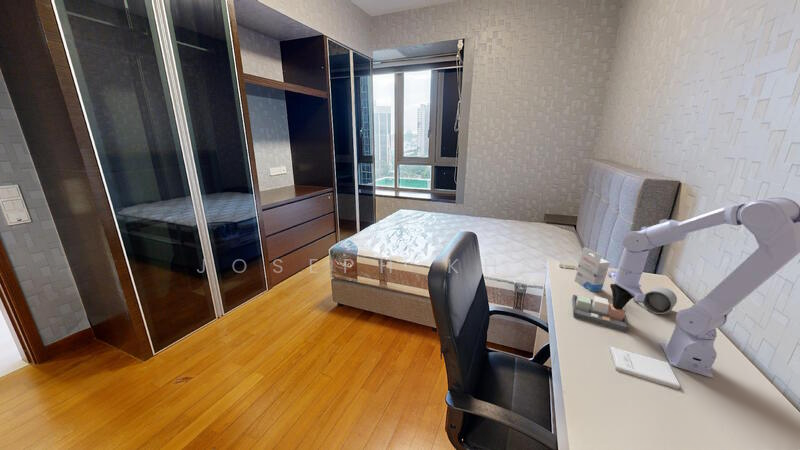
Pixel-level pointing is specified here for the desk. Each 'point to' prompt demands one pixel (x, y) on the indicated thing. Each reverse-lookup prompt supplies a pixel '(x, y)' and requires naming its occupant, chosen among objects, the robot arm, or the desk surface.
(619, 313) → the key terracotta
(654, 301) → the ceramic mug
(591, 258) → the ink box
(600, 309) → the key cream
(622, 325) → the keypad
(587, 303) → the key sage
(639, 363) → the external hard drive
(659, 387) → the desk surface
